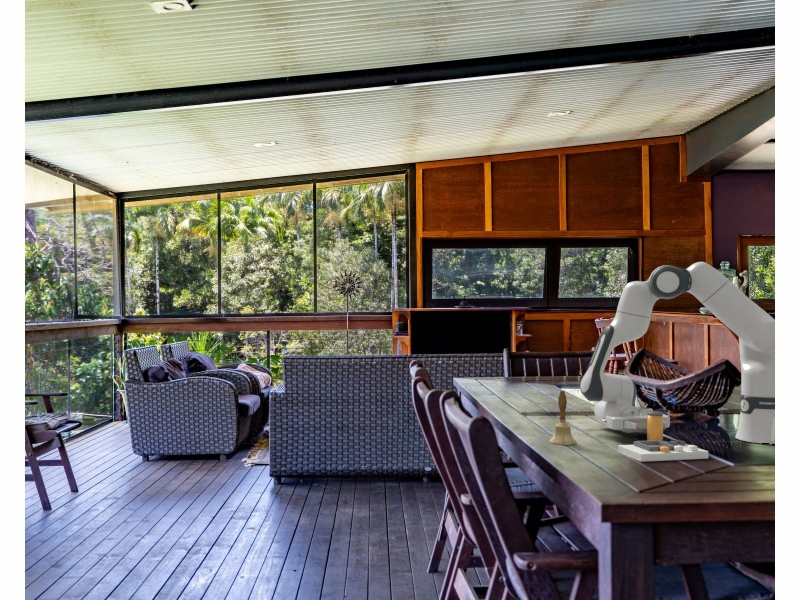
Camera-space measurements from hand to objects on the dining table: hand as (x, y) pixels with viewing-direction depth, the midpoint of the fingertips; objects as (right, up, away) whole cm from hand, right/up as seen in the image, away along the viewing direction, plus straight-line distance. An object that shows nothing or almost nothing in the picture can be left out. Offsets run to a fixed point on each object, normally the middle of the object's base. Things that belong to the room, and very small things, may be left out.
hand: (650, 426), depth 214 cm
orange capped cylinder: (0, -5, -2) cm, 6 cm away
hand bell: (-27, -6, +1) cm, 27 cm away
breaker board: (-3, -5, -16) cm, 17 cm away
